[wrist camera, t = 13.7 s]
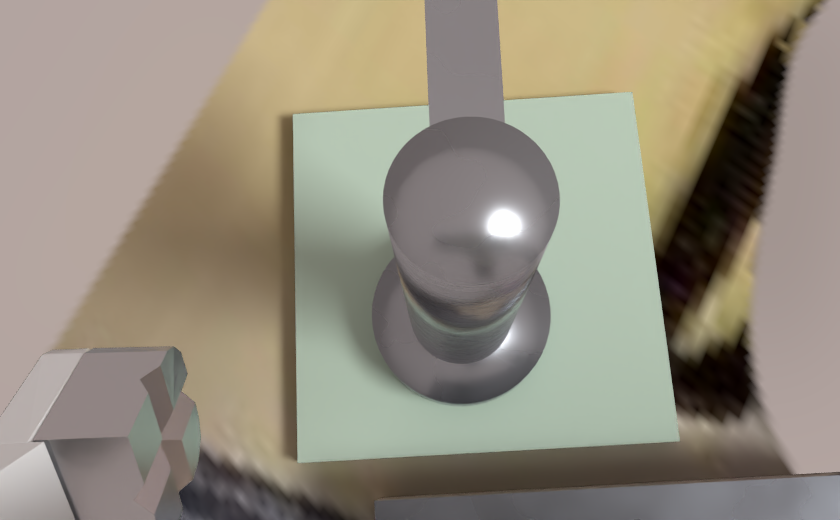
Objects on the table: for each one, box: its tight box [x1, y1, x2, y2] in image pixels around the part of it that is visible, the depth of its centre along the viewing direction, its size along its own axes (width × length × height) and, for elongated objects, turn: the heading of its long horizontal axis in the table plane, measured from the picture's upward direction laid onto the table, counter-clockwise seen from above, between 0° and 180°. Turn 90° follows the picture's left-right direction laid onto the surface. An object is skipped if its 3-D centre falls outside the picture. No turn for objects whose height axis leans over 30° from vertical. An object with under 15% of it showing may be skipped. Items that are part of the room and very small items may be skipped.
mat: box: [293, 92, 680, 463], centre depth 27 cm, size 12×12×1 cm
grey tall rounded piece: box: [372, 0, 560, 406], centre depth 20 cm, size 6×7×12 cm
